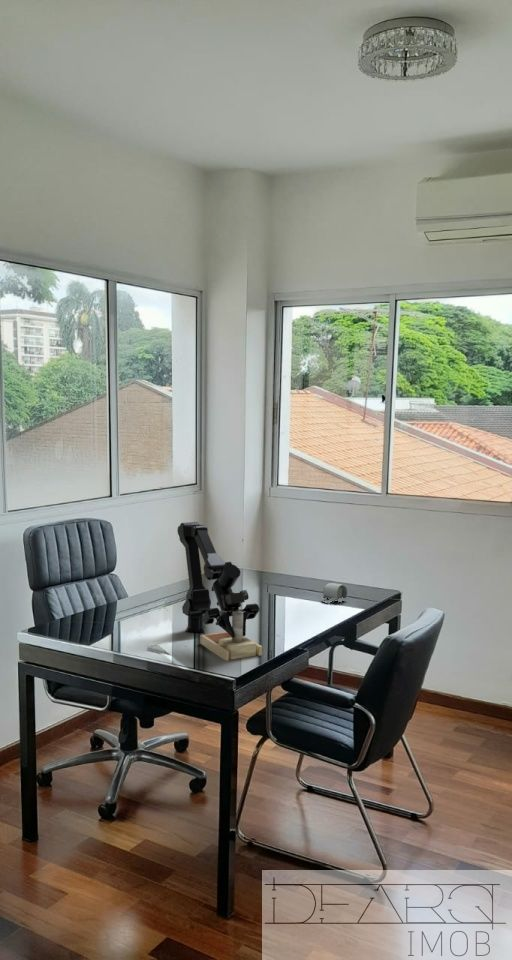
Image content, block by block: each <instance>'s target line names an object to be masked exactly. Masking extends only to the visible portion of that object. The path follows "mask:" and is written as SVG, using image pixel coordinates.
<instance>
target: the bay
mask: <svg viewBox="0 0 512 960" xmlns="http://www.w3.org/2000/svg"><path fill="white" fill-rule="evenodd" d="M244 637H246V638H248V637H247V636H246V635H245V636H244ZM224 638H232V637H231V636H230V635H229V634H228V633H227V632H226V631H222V632H215V633H208V634H200V641H199V642H200V645H202V646H203V647H204V648H206V649H207V650H209V651H211V653H213V654H215V655H217V656H218V657H219V658H220V659H222V660H224V661H230V658H229V651H228V650H226V649H225V648H223V647H221V646H220V645H219V639H224ZM248 639H249V640H251V641H253V640H252V639H250V638H248ZM253 642H254V643H256V655H258V656H259V657H260V656H263V646H262V645H260V643H257V642H255V641H253Z"/></svg>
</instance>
